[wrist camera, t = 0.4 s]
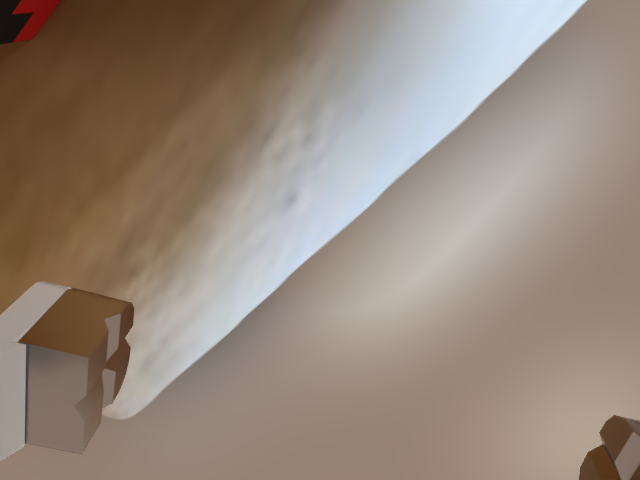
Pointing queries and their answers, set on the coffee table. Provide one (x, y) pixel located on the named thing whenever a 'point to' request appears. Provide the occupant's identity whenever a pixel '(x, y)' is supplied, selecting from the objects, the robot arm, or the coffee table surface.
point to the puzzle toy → (23, 18)
